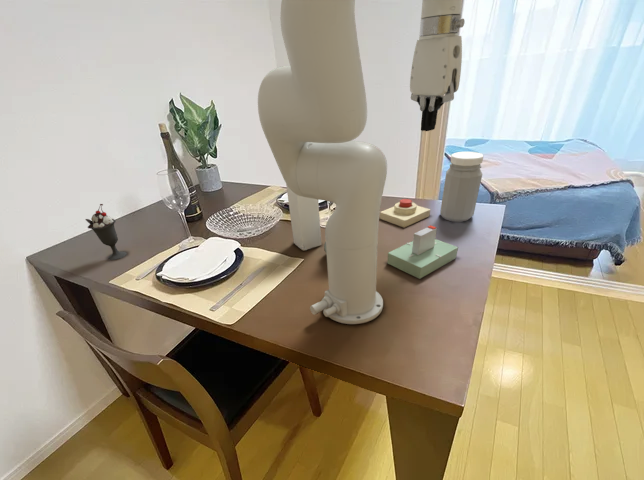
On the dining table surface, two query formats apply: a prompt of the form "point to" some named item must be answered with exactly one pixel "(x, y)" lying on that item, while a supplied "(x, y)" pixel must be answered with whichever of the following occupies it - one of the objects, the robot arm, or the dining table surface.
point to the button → (405, 203)
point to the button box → (404, 214)
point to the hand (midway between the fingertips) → (427, 129)
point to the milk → (304, 220)
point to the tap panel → (422, 258)
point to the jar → (461, 186)
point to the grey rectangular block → (424, 240)
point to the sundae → (105, 232)
